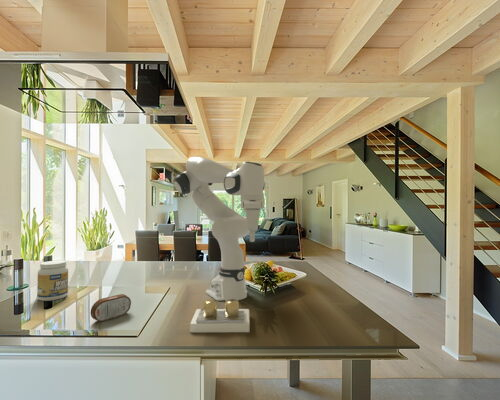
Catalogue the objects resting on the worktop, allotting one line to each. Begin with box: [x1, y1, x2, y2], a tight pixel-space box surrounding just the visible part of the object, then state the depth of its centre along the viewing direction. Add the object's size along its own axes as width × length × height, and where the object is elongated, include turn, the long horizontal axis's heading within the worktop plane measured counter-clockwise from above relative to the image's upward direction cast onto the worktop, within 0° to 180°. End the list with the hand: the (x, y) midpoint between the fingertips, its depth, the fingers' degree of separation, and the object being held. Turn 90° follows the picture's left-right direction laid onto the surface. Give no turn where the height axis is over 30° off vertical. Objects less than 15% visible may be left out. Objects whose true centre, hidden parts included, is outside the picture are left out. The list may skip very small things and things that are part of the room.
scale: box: [189, 308, 250, 333], centre depth 107 cm, size 21×14×4 cm, turn 91°
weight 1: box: [202, 298, 218, 318], centre depth 105 cm, size 5×5×5 cm
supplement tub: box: [36, 259, 69, 302], centre depth 137 cm, size 12×12×17 cm
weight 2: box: [224, 299, 240, 318], centre depth 105 cm, size 5×5×5 cm
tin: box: [90, 293, 132, 322], centre depth 113 cm, size 15×3×8 cm, turn 141°
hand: (251, 239), depth 109 cm, fingers open, 8 cm apart
